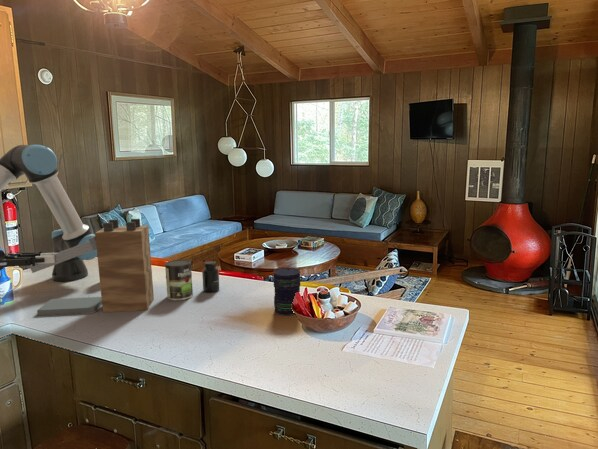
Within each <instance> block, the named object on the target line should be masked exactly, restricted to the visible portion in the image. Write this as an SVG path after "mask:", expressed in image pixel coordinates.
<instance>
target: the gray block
mask: <svg viewBox="0 0 598 449" xmlns="http://www.w3.org/2000/svg"><path fill="white" fill-rule="evenodd" d="M100 307H102V298H101V296H92V297H90V296H89V297H88V296H87V297H72V298H71V297H70V298H52V299H49V300H48V301H46V303H44V304H43V305H42V306H40V308H38V309H37V310H36V312H37V316H52V315H54V316H55V315H71V314H72V315H75V314H91V313H92V314H95V313H96V312H97V311H98V310H99V309H100Z"/></svg>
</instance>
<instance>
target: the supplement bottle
mask: <svg viewBox="0 0 598 449" xmlns="http://www.w3.org/2000/svg"><path fill="white" fill-rule="evenodd" d="M201 275H202V277H201V278H202V290H203V292H205V293H216V292H218V291H220V270H219V269H218V268H217V262H216V261H212V260H211V261H210V260H209V261H206V262H204V268H203V269H202V274H201Z"/></svg>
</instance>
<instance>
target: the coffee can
mask: <svg viewBox="0 0 598 449" xmlns="http://www.w3.org/2000/svg"><path fill="white" fill-rule="evenodd" d="M164 268H165V282H166V284H165V285H166V294H167V295H166V298H167V299H168V300H171V301H184V300H185V301H186V300H188V299H190V298H192V297H193V296H194V293H193V278H192V277H193V275H192V274H193V273H192V261H191V260H189V259H188V260H187V259H173V260H169V261H167V262H165V263H164Z"/></svg>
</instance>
